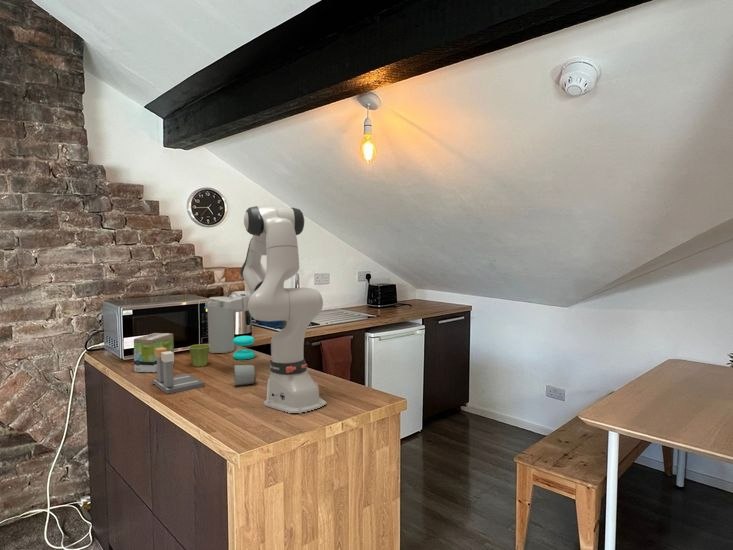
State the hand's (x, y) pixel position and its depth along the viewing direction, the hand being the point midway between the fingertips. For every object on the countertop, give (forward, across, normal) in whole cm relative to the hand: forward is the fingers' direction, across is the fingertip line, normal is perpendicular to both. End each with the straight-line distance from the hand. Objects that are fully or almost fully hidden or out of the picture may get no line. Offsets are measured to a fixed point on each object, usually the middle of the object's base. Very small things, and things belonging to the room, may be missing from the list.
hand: (206, 304), depth 196 cm
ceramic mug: (-6, +19, +30) cm, 36 cm away
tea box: (+13, -28, +30) cm, 43 cm away
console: (+14, +4, +30) cm, 33 cm away
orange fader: (+19, 0, +28) cm, 34 cm away
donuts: (-25, -19, +30) cm, 43 cm away
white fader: (+19, +9, +28) cm, 35 cm away
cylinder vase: (-23, -40, +30) cm, 55 cm away
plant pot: (-4, -20, +30) cm, 36 cm away
